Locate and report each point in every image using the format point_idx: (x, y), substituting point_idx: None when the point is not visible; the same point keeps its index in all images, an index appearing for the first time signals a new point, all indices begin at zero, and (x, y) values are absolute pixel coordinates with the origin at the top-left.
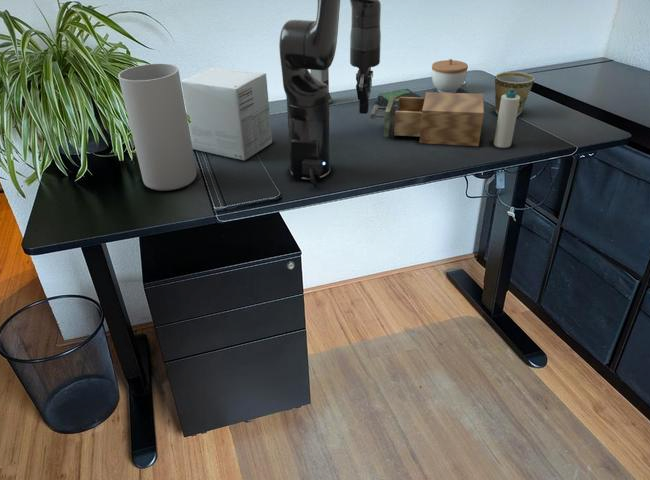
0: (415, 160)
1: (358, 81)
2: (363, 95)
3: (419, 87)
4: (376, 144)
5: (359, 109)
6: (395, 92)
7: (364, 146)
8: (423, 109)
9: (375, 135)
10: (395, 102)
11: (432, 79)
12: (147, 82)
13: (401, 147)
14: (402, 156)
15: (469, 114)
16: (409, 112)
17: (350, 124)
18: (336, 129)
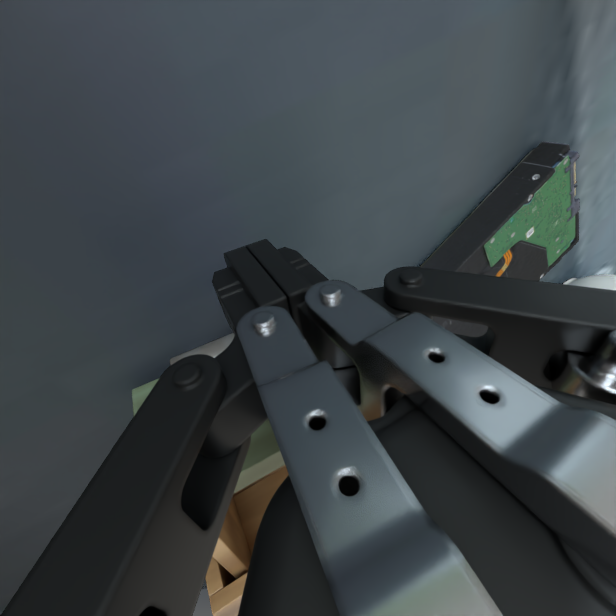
0: (9, 553)
1: (329, 572)
2: (208, 446)
3: (601, 227)
4: (52, 382)
5: (230, 263)
6: (565, 215)
7: None
8: (225, 608)
9: (170, 317)
10: (478, 262)
11: (603, 287)
12: None
13: (102, 459)
14: (5, 516)
15: None
16: (213, 557)
17: (265, 105)
18: (120, 10)
